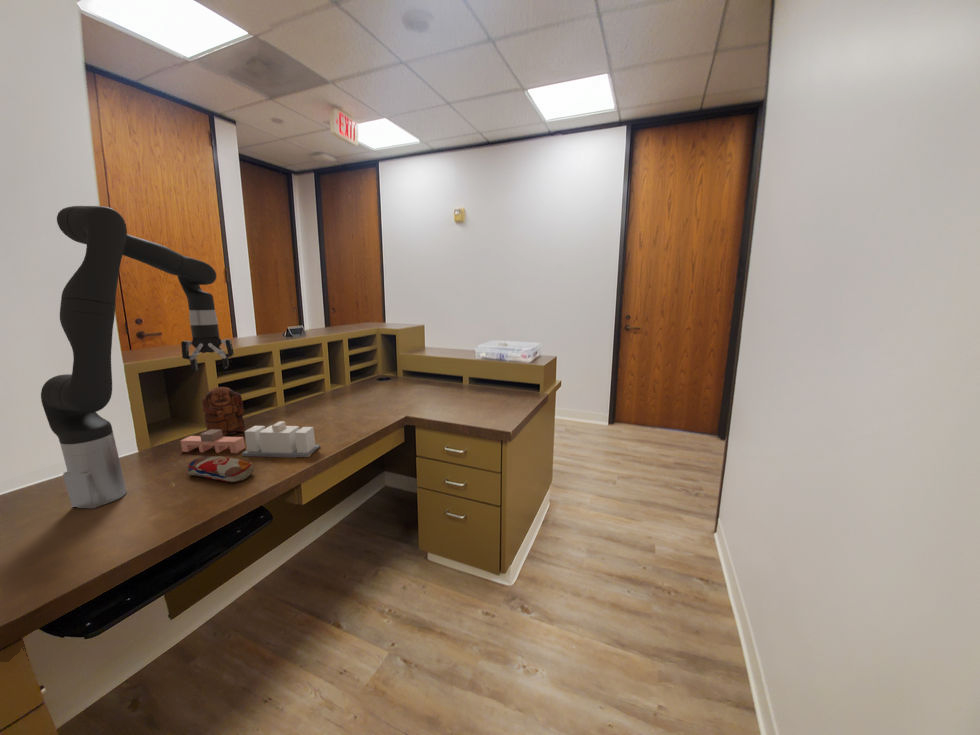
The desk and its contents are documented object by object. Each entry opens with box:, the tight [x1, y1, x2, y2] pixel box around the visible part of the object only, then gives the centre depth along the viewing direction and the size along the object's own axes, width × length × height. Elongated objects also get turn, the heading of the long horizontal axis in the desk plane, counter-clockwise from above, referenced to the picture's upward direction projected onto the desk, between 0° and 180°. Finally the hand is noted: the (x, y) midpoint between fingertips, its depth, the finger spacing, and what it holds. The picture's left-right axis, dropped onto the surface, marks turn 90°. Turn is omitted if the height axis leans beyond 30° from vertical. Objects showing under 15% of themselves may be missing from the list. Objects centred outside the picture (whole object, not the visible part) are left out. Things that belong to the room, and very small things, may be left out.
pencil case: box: [187, 455, 254, 483], centre depth 109 cm, size 11×20×5 cm, turn 59°
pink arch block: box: [180, 429, 246, 454], centre depth 126 cm, size 4×19×6 cm, turn 87°
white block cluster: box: [241, 420, 321, 458], centre depth 124 cm, size 8×22×10 cm, turn 87°
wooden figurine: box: [202, 386, 246, 437], centre depth 138 cm, size 12×6×18 cm, turn 134°
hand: (210, 369), depth 131 cm, fingers open, 8 cm apart
